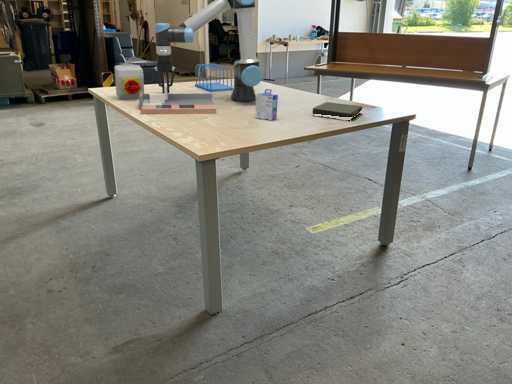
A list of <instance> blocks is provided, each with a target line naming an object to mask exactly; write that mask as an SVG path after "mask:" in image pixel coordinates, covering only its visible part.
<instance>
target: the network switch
mask: <svg viewBox="0 0 512 384" xmlns="http://www.w3.org/2000/svg"><path fill="white" fill-rule="evenodd" d="M361 110H362V111H363V106H362V105H355V104H347V103H337V102H329V101H326V102H325V101H324V102H323V103H321V104H319V105H316V106H315V107H313V108H312V115H313V114H321V115H331V116H339V117H353V116H356V115H357V114H358V113H359V112H360V111H361Z"/></svg>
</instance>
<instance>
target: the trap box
mask: <svg viewBox="0 0 512 384" xmlns="http://www.w3.org/2000/svg"><path fill="white" fill-rule="evenodd" d="M149 94H150V93H145V90H144V91H141V93H140V95H139V99H138V100H139V101H138V103H139V110H140V111H141V112H140V113H141V115H193V114H194V115H195V114H196V115H197V114H198V115H200V114H201V115H205V114H208V115H209V114H211V115H212V114H213V115H214V114H217V107H216V105H215V102H214V100H213V93H167V94H168V100H165V103H150V97H149Z"/></svg>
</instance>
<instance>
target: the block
mask: <svg viewBox="0 0 512 384" xmlns="http://www.w3.org/2000/svg"><path fill="white" fill-rule="evenodd" d="M148 94H149V97H150V103H165V93H163V92H162V91H157V92H155V91H150V92H149V93H148Z"/></svg>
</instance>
